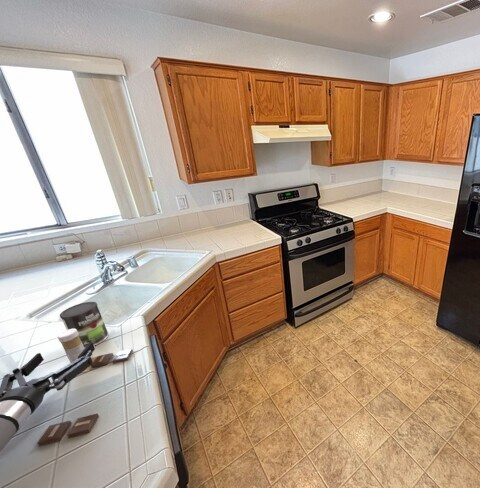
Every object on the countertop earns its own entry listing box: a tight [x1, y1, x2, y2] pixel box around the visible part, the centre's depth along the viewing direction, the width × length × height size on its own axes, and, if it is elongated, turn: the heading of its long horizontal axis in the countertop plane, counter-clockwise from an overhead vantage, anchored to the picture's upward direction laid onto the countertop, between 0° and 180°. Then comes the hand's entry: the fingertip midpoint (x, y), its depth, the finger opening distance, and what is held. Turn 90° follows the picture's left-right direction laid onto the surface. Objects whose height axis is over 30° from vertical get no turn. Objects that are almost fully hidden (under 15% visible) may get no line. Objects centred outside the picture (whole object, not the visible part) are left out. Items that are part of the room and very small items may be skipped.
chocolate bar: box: [81, 348, 134, 374], centre depth 89 cm, size 18×7×1 cm, turn 106°
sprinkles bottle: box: [57, 329, 85, 363], centre depth 85 cm, size 5×5×13 cm
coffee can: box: [59, 301, 110, 348], centre depth 98 cm, size 10×10×14 cm
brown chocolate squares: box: [36, 413, 100, 447], centre depth 66 cm, size 10×4×1 cm, turn 106°
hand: (67, 351), depth 82 cm, fingers open, 13 cm apart
